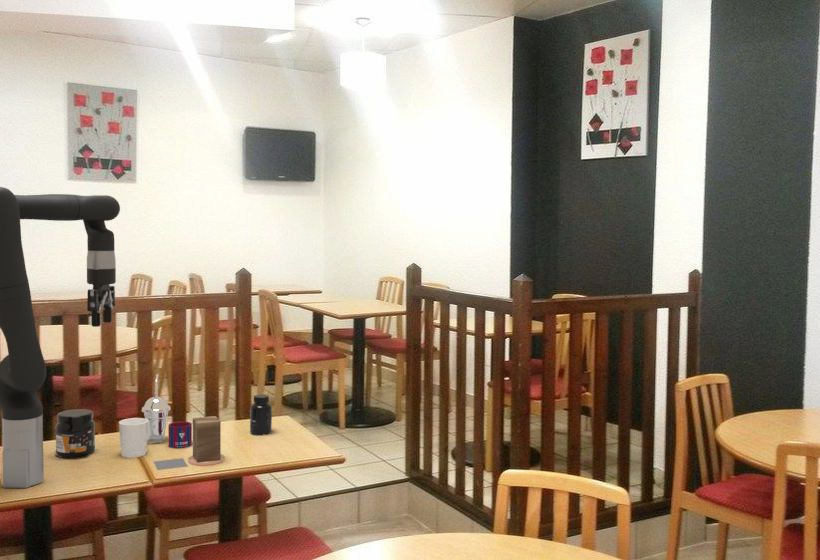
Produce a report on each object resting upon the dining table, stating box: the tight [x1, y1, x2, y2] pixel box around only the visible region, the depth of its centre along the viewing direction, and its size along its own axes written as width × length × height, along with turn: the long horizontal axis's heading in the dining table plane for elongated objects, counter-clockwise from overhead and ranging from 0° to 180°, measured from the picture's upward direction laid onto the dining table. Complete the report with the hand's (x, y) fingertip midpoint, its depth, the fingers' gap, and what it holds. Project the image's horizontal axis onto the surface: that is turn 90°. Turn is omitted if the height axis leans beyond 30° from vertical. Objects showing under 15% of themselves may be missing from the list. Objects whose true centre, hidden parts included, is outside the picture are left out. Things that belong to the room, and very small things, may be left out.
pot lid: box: [187, 453, 226, 467], centre depth 218 cm, size 10×10×2 cm
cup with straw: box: [141, 373, 171, 444], centre depth 237 cm, size 8×9×20 cm
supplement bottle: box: [249, 394, 273, 436], centre depth 249 cm, size 7×7×12 cm
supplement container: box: [54, 408, 96, 459], centre depth 223 cm, size 10×10×12 cm
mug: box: [168, 421, 193, 449], centre depth 234 cm, size 7×10×7 cm
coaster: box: [152, 457, 189, 471], centre depth 214 cm, size 8×8×1 cm
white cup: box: [118, 417, 148, 459], centre depth 222 cm, size 8×8×10 cm
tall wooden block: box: [192, 415, 222, 463], centre depth 218 cm, size 6×6×11 cm
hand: (101, 324), depth 218 cm, fingers open, 8 cm apart
